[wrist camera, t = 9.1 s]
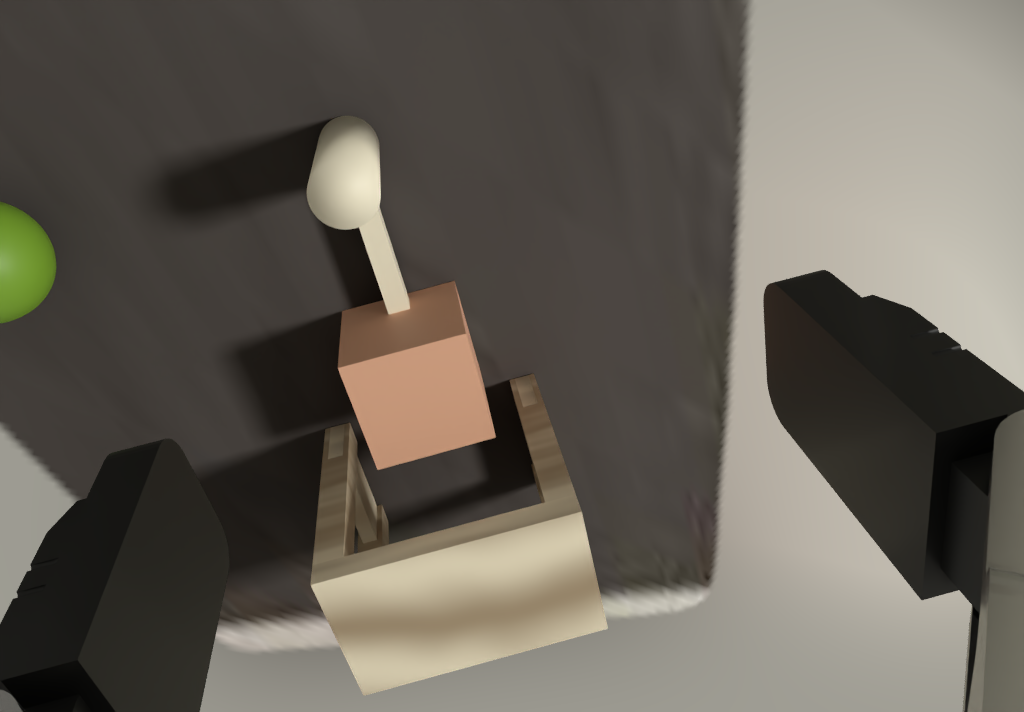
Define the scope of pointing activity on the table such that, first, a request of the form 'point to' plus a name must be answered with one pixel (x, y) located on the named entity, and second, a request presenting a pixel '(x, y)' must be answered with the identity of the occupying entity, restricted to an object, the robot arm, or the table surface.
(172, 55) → the table surface
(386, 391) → the cube base joystick
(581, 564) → the beige u-shaped block
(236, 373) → the table surface
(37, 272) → the snail figurine
